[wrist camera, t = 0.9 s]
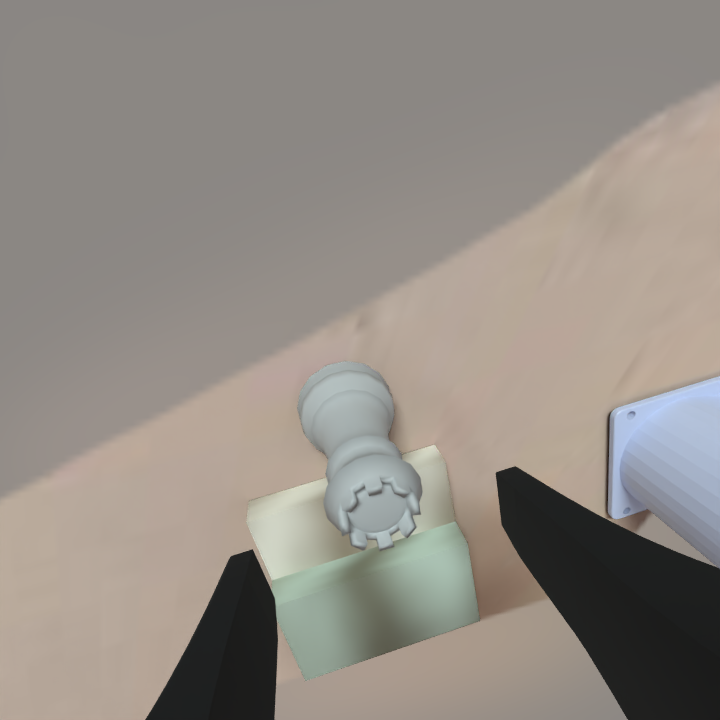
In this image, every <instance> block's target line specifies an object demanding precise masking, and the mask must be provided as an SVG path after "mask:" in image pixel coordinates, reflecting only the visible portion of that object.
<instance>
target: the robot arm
mask: <svg viewBox="0 0 720 720" xmlns="http://www.w3.org/2000/svg"><path fill="white" fill-rule="evenodd" d="M628 413H629V414H628ZM627 414H628V415H627ZM496 479H497V488H498V496H499V505H500V514H501V523H502V526H503V528H504V530H505V531H506V533H507V535H508V537H509V539H510V541H511V542H512V544H513V546H514V548H515V549H516V551H517V553H518V554H519V556H520V558H521V559H522V561H523V562H524V564H525V565H526V566H527V568H528V569H529V571H530V572H531V573H532V575H533V576H534V578H535V579H536V580H537V582H538V583H539V585H540V586H541V587H542V589H543V590H544V591H545V593H546V594H547V596H548V597H549V598H550V600H551V601H552V602H553V604H554V605H555V607H556V608H557V609H558V611H559V612H560V613H561V615H562V616H563V617H564V619H565V620H566V622H567V623H568V625H569V626H570V627H571V629H572V630H573V631H574V633H575V634H576V636H577V637H578V639H579V640H580V641H581V643H582V645H583V646H584V648H585V649H586V651H587V652H588V654H589V656H590V657H591V659H592V660H593V662H594V664H595V665H596V667H597V669H598V670H599V672H600V673H601V675H602V677H603V679H604V680H605V682H606V684H607V685H608V687H609V688H610V690H611V692H612V693H613V695H614V697H615V699H616V700H617V702H618V704H619V705H620V707H621V709H622V711H623V712H624V714H625V716H626V717H627V719H628V720H720V376H718V377H715V378H712V379H708V380H705V381H702V382H699V383H696V384H692V385H689V386H686V387H683V388H679V389H676V390H673V391H670V392H666V393H663V394H660V395H657V396H653V397H650V398H647V399H644V400H640V401H637V402H634V403H631V404H627V405H624V406H621V407H618V408H616V409H614V410H613V411H612V413H611V415H610V438H609V483H608V514H609V515H610V516H611V517H612V518H613V519H620V518H623V517H626V516H629V515H632V514H635V513H638V512H641V511H644V510H647V509H649V510H650V511H651V512H652V513H653V514H655V515H656V516H657V517H658V518H659V519H661V520H662V521H663V522H664V523H665V524H667V525H668V526H669V527H670V528H671V529H673V530H674V531H675V532H676V533H678V534H679V535H680V536H681V537H682V538H684V539H685V540H686V541H687V542H688V543H690V544H691V545H692V546H693V547H694V548H696V549H697V550H698V551H699V552H701V554H703V555H704V556H705V557H706V558H707V559H709V560H710V561H711V562H712V563H713V564H715V565H716V566H717V567H718V568H717V567H715V566H712V565H709V564H706V563H704V562H701V561H698V560H696V559H693V558H691V557H688V556H686V555H683V554H681V553H678V552H676V551H673V550H671V549H669V548H666V547H664V546H662V545H659V544H657V543H655V542H653V541H650V540H648V539H646V538H643V537H641V536H639V535H637V534H635V533H633V532H631V531H629V530H627V529H625V528H623V527H621V526H619V525H617V524H615V523H613V522H611V521H609V520H607V519H605V518H603V517H601V516H599V515H597V514H596V513H594V512H592V511H590V510H588V509H587V508H585V507H583V506H581V505H579V504H578V503H576V502H574V501H572V500H571V499H569V498H567V497H565V496H564V495H562V494H560V493H559V492H557V491H555V490H554V489H552V488H550V487H549V486H547V485H545V484H544V483H542V482H540V481H539V480H537V479H536V478H534V477H532V476H531V475H529V474H527V473H526V472H524V471H522V470H521V469H519V468H517V467H516V466H515V467H511V468H508V469H505V470H502V471H499V472H496ZM277 647H278V634H277V617H276V603H275V597H274V595H273V593H272V591H271V589H270V586H269V584H268V582H267V580H266V578H265V575H264V573H263V571H262V569H261V567H260V564H259V562H258V560H257V558H256V556H255V553H254V551H253V549H252V550H249V551H246V552H243V553H240V554H237V555H233V556H231V557H230V559H229V560H228V563H227V565H226V567H225V569H224V571H223V574H222V576H221V578H220V580H219V582H218V585H217V587H216V589H215V591H214V593H213V595H212V598H211V600H210V602H209V604H208V606H207V608H206V610H205V612H204V614H203V616H202V618H201V620H200V622H199V624H198V626H197V628H196V630H195V632H194V634H193V636H192V638H191V640H190V642H189V644H188V646H187V648H186V650H185V652H184V654H183V655H182V657H181V659H180V661H179V663H178V665H177V666H176V668H175V670H174V672H173V674H172V676H171V677H170V679H169V681H168V683H167V685H166V686H165V688H164V690H163V691H162V693H161V695H160V697H159V698H158V700H157V702H156V703H155V705H154V707H153V708H152V710H151V711H150V713H149V715H148V716H147V718H146V719H145V720H274V714H275V693H276V672H277Z"/></svg>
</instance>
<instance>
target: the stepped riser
mask: <svg viewBox="0 0 720 720" xmlns="http://www.w3.org/2000/svg"><path fill="white" fill-rule="evenodd" d="M402 460H404V461H406V462H408V463H410V464H411V465H412V466H413V468H414V469H415V470H416V472H417V473H418V474H419V476H420V478H421V484H422V491H423V493H422V496H421V500H420V503H419V506H420V512H421V515H413V519H414V522H415V524H416V526H417V528H416V529H415V530H414V531H413V533H412V534H411V535H410V536H409V537H408V539H407V538H406V537H405V536H403V535H402V534H401V531H400V530H399V531H398V532H396V533H395V534H393V535H392V536H391V538H392V541H393V544H394V547H393V548H389V549H386V550H382V551H379V549H378V545H377V541H376V540H367V543H368V544H367V546H366V548H365V550H364V551H363V550H360V549H358V548H355V547H353V546H351V543H350V538H349V534H347V535H344V536H342V534H341V531H339V530H338V529H337V528H336V527H335V526H334V525H333V524H332V523H331V522H330V521H329V520H328V519H327V516H326V512H325V508H324V505H323V501H324V497H325V492H326V488H327V485H328V481H327V478H324V479H320V480H317V481H314V482H311V483H307V484H304V485H301V486H297V487H294V488H291V489H288V490H284V491H281V492H278V493H274V494H271V495H268V496H265V497H261V498H258V499H255V500H251V501H249V504H248V513H247V522H246V523H247V525H248V527H249V530H250V532H251V534H252V536H253V539H254V541H255V543H256V545H257V548H258V550H259V552H260V554H261V557H262V559H263V561H264V563H265V566H266V568H267V570H268V572H269V575H270V577H271V579H272V593H273V595H274V597H275V603H276V617H277V620H278V623H279V625H280V627H281V629H282V631H283V633H284V636H285V638H286V640H287V642H288V644H289V646H290V648H291V651H292V653H293V655H294V657H295V659H296V661H297V664H298V666H299V668H300V670H301V672H302V674H303V676H304V679H305V681H307V680H310V679H312V678H316V677H318V676H321V675H324V674H327V673H330V672H333V671H336V670H338V669H342V668H345V667H347V666H350V665H353V664H356V663H359V662H362V661H365V660H368V659H371V658H373V657H377V656H379V655H382V654H385V653H388V652H391V651H394V650H397V649H400V648H402V647H406V646H408V645H411V644H414V643H417V642H420V641H423V640H426V639H429V638H431V637H435V636H437V635H440V634H443V633H446V632H449V631H452V630H455V629H458V628H461V627H464V626H467V625H469V624H472V623H475V622H478V621H480V617H479V611H478V604H477V598H476V592H475V586H474V580H473V574H472V568H471V562H470V556H469V549H468V543H467V541H466V539H465V538H464V536H463V534H462V532H461V530H460V528H459V527H458V525H457V523H456V521H455V515H454V509H453V504H452V498H451V492H450V486H449V481H448V475H447V469H446V463H445V460H444V459H443V457H442V456H441V454H440V452H439V451H438V449H437V448H436V446H435V445H432V446H429V447H426V448H422V449H419V450H416V451H412V452H409V453H406V454H403V455H402Z"/></svg>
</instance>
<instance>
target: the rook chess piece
mask: <svg viewBox="0 0 720 720" xmlns="http://www.w3.org/2000/svg"><path fill="white" fill-rule="evenodd" d="M297 409H298V413H299V417H300V421H301V425H302V428H303V432H304V434H305V436H306V437H307V438H308V439H309V441H310V442H311V443H312V444H313V445H314V446H315V447H316V449H318V450H320V451H322V452H323V453H324V454H326V456H327V458H328V465H327V469H326V477H327V481H328V485H327V488H326V492H325V497H324V501H323V505H324V508H325V512H326V516H327V519H328V520H329V521H330V522H331V523H332V524H333V525H334V526H335V527H336V528H337V529H338V530H339V531H341V534H342V536H344V535H347V534H349V538H350V543H351V546H353V547H355V548H358V549H360V550H363V551H364V550H365V548H366V546H367V544H368V543H367V540H376V541H377V545H378V549H379V551H382V550H386V549H389V548H393V547H394V544H393V541H392V538H391V536H392V535H393V534H395V533H396V532H398V531H399V530H400V531H401V534H402V535H403V536H405V537H406V538H407V539H408V537H409V536H410V535H411V534H412V533H413V531H414V530H415V529H416V528H417V526H416V524H415V522H414V519H413V515H421V512H420V506H419V503H420V500H421V496H422V493H423V491H422V484H421V478H420V476H419V474H418V473H417V472H416V470H415V469H414V468H413V466H412V465H411V464H410V463H408V462H406V461H404V460H402V454H401V452H400V451H399V450H398V448H397V447H396V446H395V444H394V443H392V442H391V441H389V437H388V434H389V431H390V429H391V425H392V422H393V418H394V405H393V400H392V394H391V393H390V392H389V386H388V385H387V383H386V382H385V380H384V379H383V378H382V376H381V375H380V373H379V372H377V371H375V370H374V369H372V368H370V367H369V366H367V365H365V364H363V363H356V362H348V361H343V362H339V363H335V364H331V365H327V366H325V367H324V368H322V369H321V370H319V371H318V372H316V373H315V374H313V375H312V376H310V378H309V379H308V381H307V382H306V384H305V385H304V387H303V388H302V390H301V391H300V396H299V402H298V407H297Z"/></svg>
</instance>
